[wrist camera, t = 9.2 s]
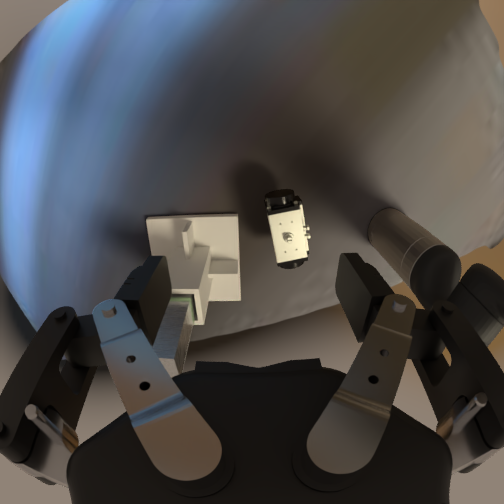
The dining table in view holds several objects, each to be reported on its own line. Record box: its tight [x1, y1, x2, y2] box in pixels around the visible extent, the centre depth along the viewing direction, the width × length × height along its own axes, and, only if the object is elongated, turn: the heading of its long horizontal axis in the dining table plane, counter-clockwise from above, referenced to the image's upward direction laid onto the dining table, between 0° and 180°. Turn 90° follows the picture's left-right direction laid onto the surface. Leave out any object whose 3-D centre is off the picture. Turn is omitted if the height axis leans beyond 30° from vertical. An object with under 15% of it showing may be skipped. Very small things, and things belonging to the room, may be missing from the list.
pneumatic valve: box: [264, 189, 310, 269], centre depth 43 cm, size 6×12×12 cm, turn 12°
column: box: [151, 294, 196, 378], centre depth 37 cm, size 4×4×20 cm
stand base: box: [146, 214, 241, 325], centre depth 45 cm, size 17×18×16 cm
